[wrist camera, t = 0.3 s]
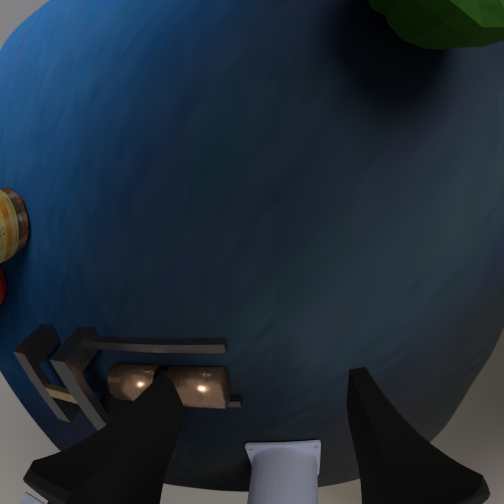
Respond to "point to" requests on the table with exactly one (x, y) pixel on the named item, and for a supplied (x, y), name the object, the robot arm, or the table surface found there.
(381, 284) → the table surface
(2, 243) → the sauce bottle
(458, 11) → the bell pepper
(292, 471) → the robot arm
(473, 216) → the table surface
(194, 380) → the tube
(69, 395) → the metal clamp tool
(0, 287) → the canned food
